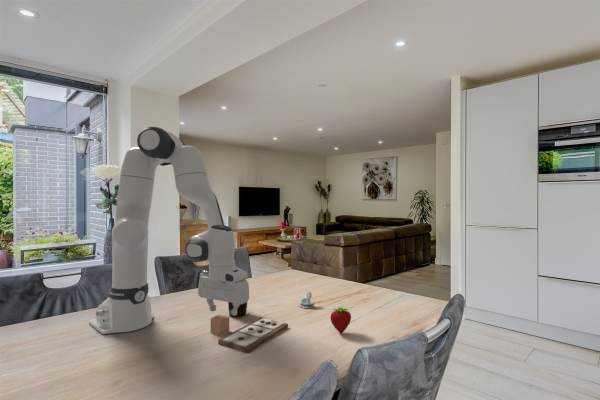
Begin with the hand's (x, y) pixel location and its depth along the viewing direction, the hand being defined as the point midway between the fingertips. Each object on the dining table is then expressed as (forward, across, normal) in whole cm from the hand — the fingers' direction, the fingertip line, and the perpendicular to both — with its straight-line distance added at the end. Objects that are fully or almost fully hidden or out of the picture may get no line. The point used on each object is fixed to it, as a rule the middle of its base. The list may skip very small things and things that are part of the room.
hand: (223, 312), depth 108 cm
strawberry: (+8, +36, +18) cm, 41 cm away
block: (+6, -1, -1) cm, 6 cm away
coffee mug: (+7, -6, +16) cm, 18 cm away
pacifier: (+8, +13, +37) cm, 40 cm away
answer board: (+6, +12, +3) cm, 13 cm away
